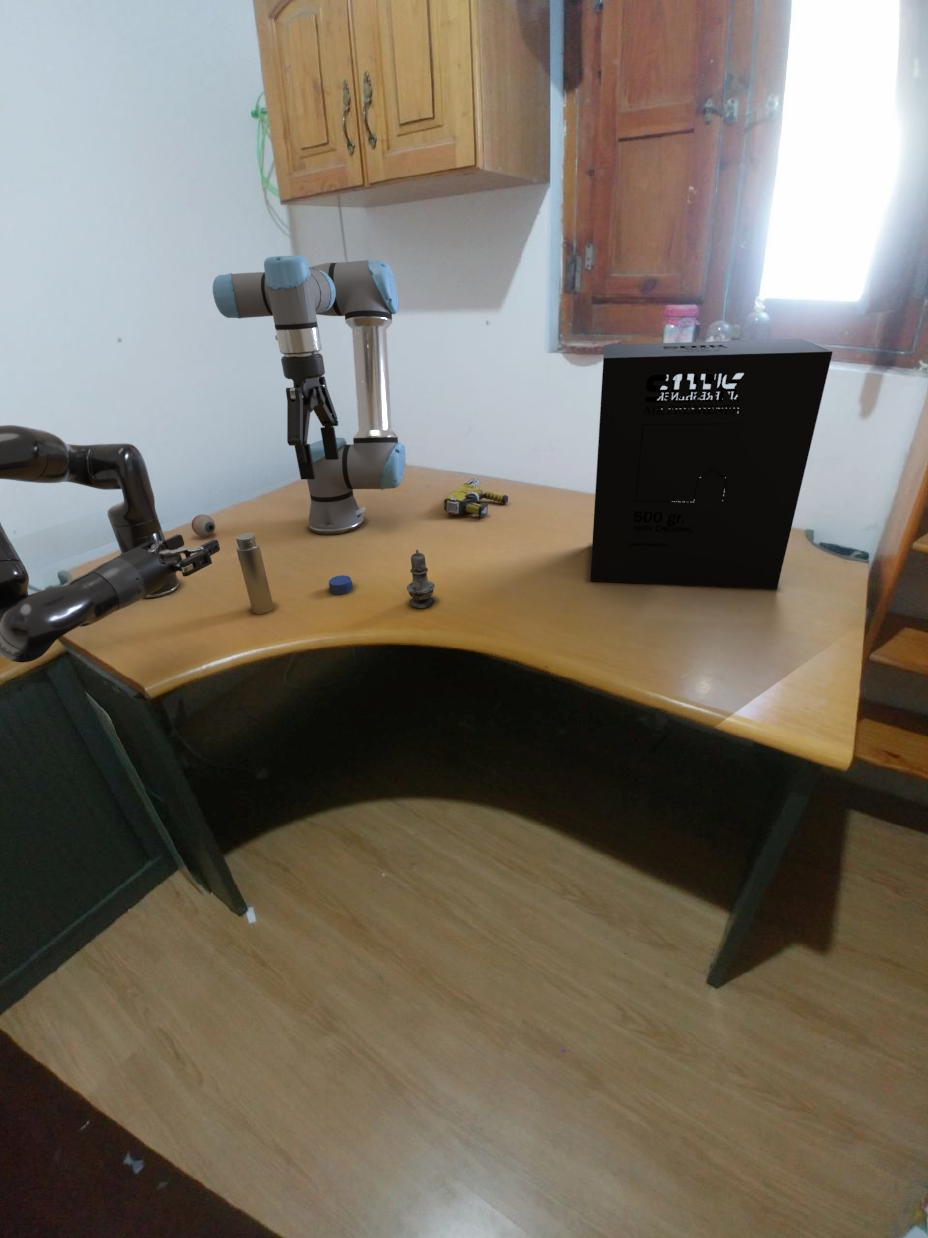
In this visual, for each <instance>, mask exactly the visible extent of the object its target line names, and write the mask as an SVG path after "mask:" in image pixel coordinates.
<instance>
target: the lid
mask: <svg viewBox="0 0 928 1238" xmlns="http://www.w3.org/2000/svg"><path fill="white" fill-rule="evenodd" d="M328 586H329V591H330V593H331V594H332V595H338V596H339V595H345V594H348V593H350V592H352V591H353V581H352V578H351V577H350V576H349V575H346V574H345V575H343V574H342V575H336V576H333V577H331V578H330V579H329V580H328Z"/></svg>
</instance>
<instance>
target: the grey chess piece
mask: <svg viewBox="0 0 928 1238" xmlns="http://www.w3.org/2000/svg"><path fill="white" fill-rule="evenodd" d="M410 563H411V569H410V573H411V576H412V581H411V582H410V583H408V584H407V586H406V591H407V592H408V594H409V596H410V597H411V599H410V600H409V605H410V606H411V607H413V608H415V609H424V608H429V607H431V606H433V605H434V604H435V602H436V600H435V598H434V597H433V593H434V591H435V587H436V585H435V583H434V582H433V581H431V580H429V579H428V571H429V568H428V567H427V565H426V556H425V554H424V553H421V552H419V550H418V549H416V550H415V553H413V554H411V556H410Z"/></svg>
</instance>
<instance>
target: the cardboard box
mask: <svg viewBox="0 0 928 1238" xmlns="http://www.w3.org/2000/svg"><path fill="white" fill-rule="evenodd" d="M833 353H834V352H833V350H830V349H827V348H826V347H825V348H824V347H822V346H821V345H818V344H815V343H813V342H810V341H808V340H805V339H802V338H783V339H782V338H781V339H779V338H777V339H776V338H775V339H749V340H747V339H746V340H723V341H722V340H720V341H719V340H718V341H689V342H687V341H685V342H683V341H682V342H657V343H654V342H653V343H627V344H625V343H624V344H623V343H621V344H604V345H603V359H602V362H603V363H602V375H601V389H600V390H601V392H600V409H599V424H598V425H599V426H598V427H599V428H598V442H597V457H596V458H597V459H596V460H597V461H596V475H595V493H594V496H595V497H594V508H593V509H594V510H593V525H592V527H593V528H592V541H591V557H590V558H591V560H590V575H589V576H590V577H589V580H590V582H603V583H622V584H623V583H625V584H626V583H628V584H645V585H647V584H648V585H669V586H670V585H671V586H693V587H712V588H714V587H715V588H734V589H735V588H737V589H755V590H757V589H758V590H759V589H760V590H778V586H779V582H780V577H781V574H782V570H783V565H784V561H785V556H786V553H787V548H788V543H789V539H790V536H791V531H792V526H793V522H794V519H795V513H796V510H797V505H798V501H799V497H800V493H801V489H802V484H803V480H804V476H805V471H806V467H807V464H808V463H807V462H808V458H809V455H810V450H811V446H812V442H813V437H814V434H815V430H816V425H817V421H818V417H819V411H820V407H821V404H822V400H823V399H822V398H823V394H824V390H825V386H826V381H827V378H828V374H829V369H830V366H831V360H832V356H833ZM738 374H742V376H741V377H740V378H735V376H736V375H738ZM678 375H681V379H680V380H679V384H678V388H675V385H676V379H675V377H676V376H678ZM689 375H693V380H692V381H691V379H688V376H689ZM702 375H704V379H702ZM719 378H720V382H719ZM724 378H725V382H724ZM723 382H724V385H730V384H731V385H734V388H725V387H724V386H723ZM691 383H692V385H695V388H691ZM705 385H710V388H704V386H705ZM662 387H666V389H662Z"/></svg>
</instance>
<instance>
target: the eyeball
mask: <svg viewBox="0 0 928 1238" xmlns="http://www.w3.org/2000/svg"><path fill="white" fill-rule="evenodd" d="M191 529H192V531H193V532H194V533H195V534H196V535H197V536H199V537H205V538H206V537H209V536H211V535H212V534H213V533H214V532H215V530H216V522H215V520H214V519H213V518H212V517H211V516H210V515H208V514H198V515H196V516H195V517H194V518H193V519H192V521H191Z"/></svg>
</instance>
